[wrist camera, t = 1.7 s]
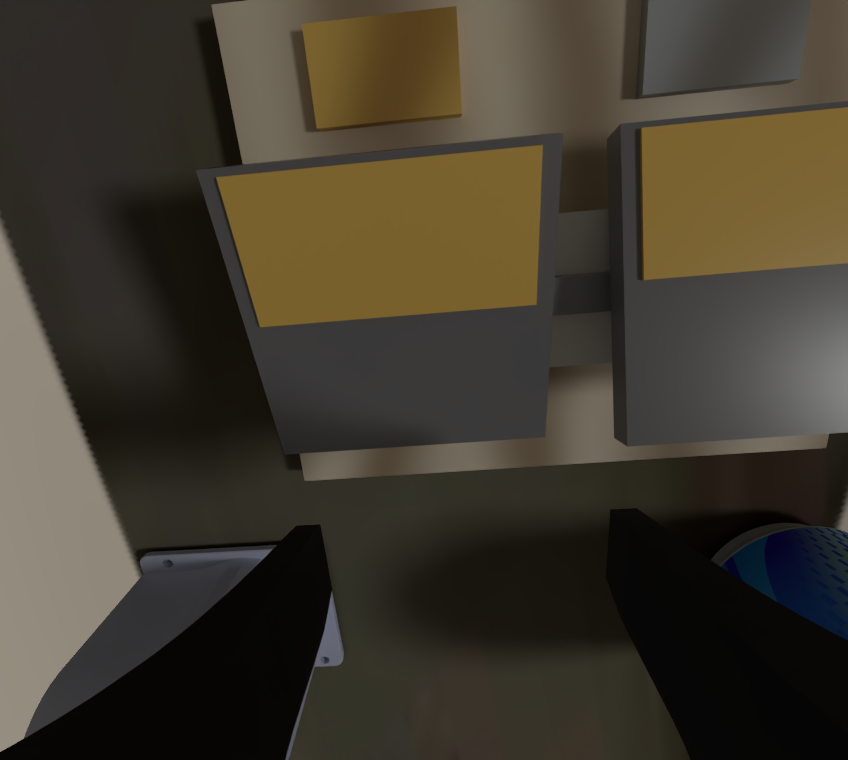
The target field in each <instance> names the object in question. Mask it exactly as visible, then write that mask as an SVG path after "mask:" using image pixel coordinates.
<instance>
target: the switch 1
mask: <svg viewBox="0 0 848 760" xmlns="http://www.w3.org/2000/svg"><path fill="white" fill-rule="evenodd" d="M562 147H563V133H550V134H540V135H530V136H520V137H510V138H500V139H490V140H480V141H470V142H460V143H450V144H440V145H430V146H420V147H410V148H400V149H391V150H381V151H371V152H361V153H351V154H341V155H331V156H321V157H311V158H301V159H291V160H281V161H271V162H261V163H251V164H241V165H231V166H221V167H212V168H205V169H199V170H196V172H197V175H198V178H199V182H200V185H201V188H202V191H203V194H204V198H205V201H206V204H207V207H208V210H209V214H210V217H211V220H212V223H213V226H214V230H215V233H216V236H217V239H218V242H219V246H220V249H221V252H222V255H223V259H224V262H225V265H226V268H227V271H228V275H229V278H230V281H231V284H232V287H233V291H234V294H235V297H236V300H237V303H238V307H239V310H240V313H241V316H242V319H243V323H244V326H245V329H246V332H247V335H248V339H249V342H250V345H251V348H252V352H253V355H254V358H255V361H256V364H257V368H258V371H259V374H260V377H261V380H262V384H263V387H264V390H265V393H266V396H267V400H268V403H269V406H270V409H271V412H272V416H273V419H274V422H275V425H276V429H277V432H278V435H279V438H280V441H281V445H282V448H283V451H284V454H285V455H287V454H302V453H317V452H332V451H347V450H362V449H377V448H392V447H407V446H422V445H437V444H452V443H467V442H482V441H497V440H512V439H527V438H542V437H545V433H546V416H547V399H548V382H549V365H550V349H551V332H552V315H553V298H554V281H555V264H556V248H557V231H558V214H559V197H560V180H561V163H562Z"/></svg>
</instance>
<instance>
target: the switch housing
mask: <svg viewBox="0 0 848 760" xmlns="http://www.w3.org/2000/svg"><path fill="white" fill-rule="evenodd" d="M601 363H612V333H611V293H610V252H609V212H608V209H601V210H590V211H579V212H568V213H559V214H558V231H557V248H556V264H555V281H554V298H553V315H552V332H551V349H550V365H549V367H561V366H574V365H588V364H601Z"/></svg>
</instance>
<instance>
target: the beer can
mask: <svg viewBox="0 0 848 760" xmlns="http://www.w3.org/2000/svg"><path fill="white" fill-rule="evenodd" d="M711 561H713V562H714V563H716V564H717V565H719V566H720V567H722V568H723V569H725V570H726V571H728V572H730V573H731V574H733V575H734V576H736V577H737V578H739V579H740V580H742V581H744V582H745V583H747V584H749V585H750V586H752V587H753V588H755V589H757V590H758V591H760V592H761V593H763V594H765V595H766V596H768V597H770V598H771V599H773V600H775V601H776V602H778V603H780V604H781V605H783V606H785V607H787V608H788V609H790V610H792V611H794V612H796V613H797V614H799V615H801V616H803V617H805V618H807V619H808V620H810V621H812V622H814V623H816V624H818V625H819V626H821V627H823V628H825V629H827V630H829V631H830V632H832V633H834V634H836V635H838V636H840V637H842V638H844V639H846V640H848V533H846V532H844V531H841V530H838V529H834V528H829V527H820V526H808V525H804V524H797V523H776V524H769V525H764V526H761V527H757V528H754V529H752V530H749V531H747V532H745V533H742V534H741V535H739V536H737V537H735V538H734V539H732V540H731V541H729V542H728V543H727V544H725V545H724V546H723V547H722V548H721V549H720V550H719V551H718V552H717V553H716V554H715V555H714V557H713V558H712V559H711Z"/></svg>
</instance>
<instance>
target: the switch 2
mask: <svg viewBox="0 0 848 760" xmlns="http://www.w3.org/2000/svg"><path fill="white" fill-rule="evenodd" d="M607 171H608V212H609V252H610V293H611V333H612V374H613V415H614V438H615V439H617V440H618V441H620V442H621V443H623V444H624V445H626V446H627V447H630V446H646V445H661V444H676V443H692V442H707V441H722V440H738V439H753V438H768V437H784V436H799V435H815V434H830V433H845V432H848V101H842V102H832V103H822V104H812V105H802V106H792V107H782V108H772V109H762V110H752V111H742V112H732V113H723V114H713V115H703V116H693V117H683V118H673V119H663V120H653V121H643V122H633V123H623V124H620V125H619V126H618V127H617V128H616V129H615V131H614V132H613V133H612V134H611V135H610V136H609V137H608V138H607Z"/></svg>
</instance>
